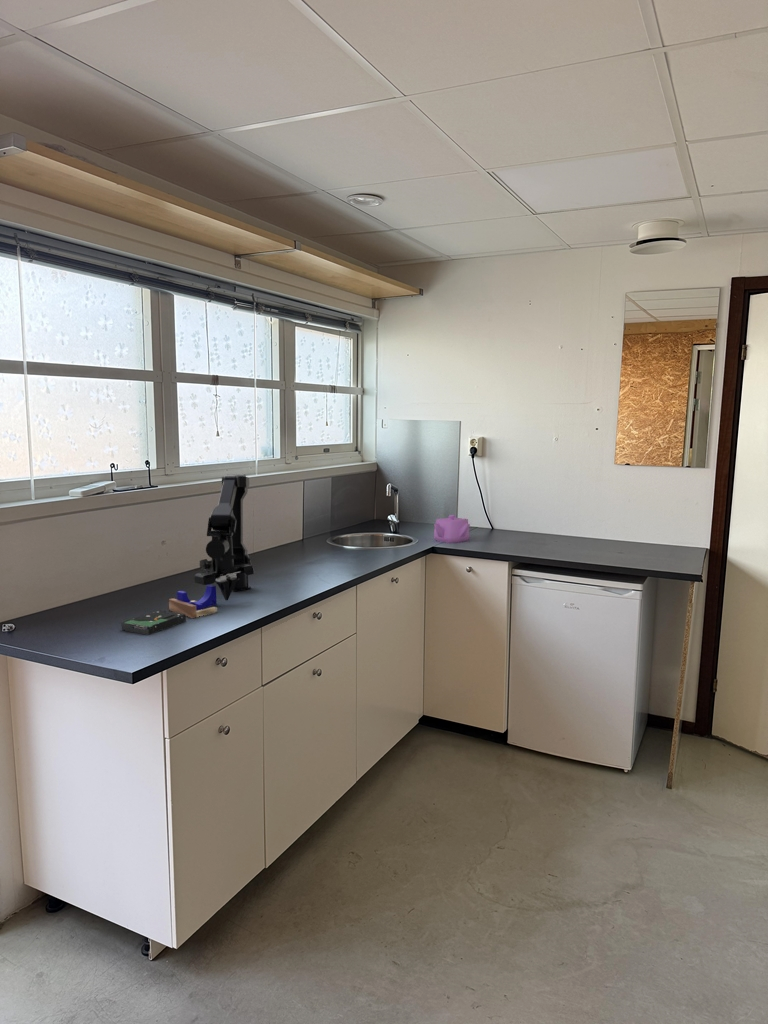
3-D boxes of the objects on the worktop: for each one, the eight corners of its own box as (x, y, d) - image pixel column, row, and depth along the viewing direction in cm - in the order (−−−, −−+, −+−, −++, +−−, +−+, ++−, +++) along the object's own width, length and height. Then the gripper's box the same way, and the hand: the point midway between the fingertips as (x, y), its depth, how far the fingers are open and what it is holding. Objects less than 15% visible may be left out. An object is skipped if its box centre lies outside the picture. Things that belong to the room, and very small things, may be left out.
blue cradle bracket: (185, 613, 210) (185, 593, 209) (177, 610, 213) (176, 591, 212) (219, 605, 219) (218, 586, 218) (211, 603, 222) (210, 584, 221)
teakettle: (468, 537, 343) (468, 512, 342) (470, 543, 326) (470, 517, 325) (433, 537, 344) (433, 512, 343) (433, 543, 327) (433, 517, 326)
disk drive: (159, 618, 207) (120, 631, 194) (159, 609, 206) (120, 621, 193) (186, 623, 202) (148, 636, 189) (186, 613, 202) (148, 626, 189)
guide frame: (193, 604, 219) (193, 594, 219) (217, 612, 211) (216, 601, 210) (169, 610, 213) (168, 599, 213) (192, 618, 205) (191, 606, 204)
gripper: (233, 544, 230) (236, 590, 233) (183, 554, 217) (186, 602, 219) (253, 548, 223) (256, 595, 225) (203, 558, 209) (206, 608, 212)
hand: (226, 600), depth 221 cm, fingers closed
